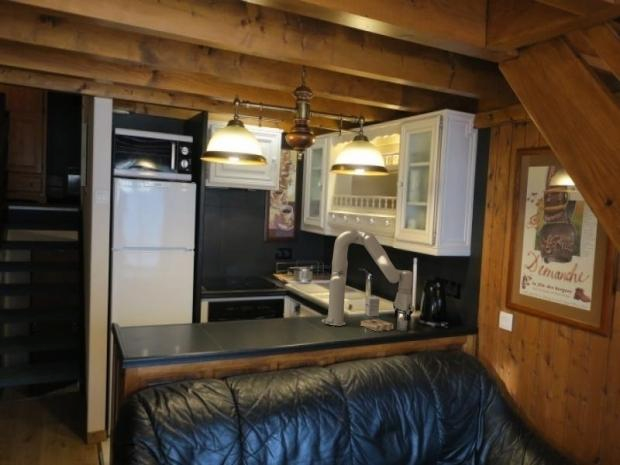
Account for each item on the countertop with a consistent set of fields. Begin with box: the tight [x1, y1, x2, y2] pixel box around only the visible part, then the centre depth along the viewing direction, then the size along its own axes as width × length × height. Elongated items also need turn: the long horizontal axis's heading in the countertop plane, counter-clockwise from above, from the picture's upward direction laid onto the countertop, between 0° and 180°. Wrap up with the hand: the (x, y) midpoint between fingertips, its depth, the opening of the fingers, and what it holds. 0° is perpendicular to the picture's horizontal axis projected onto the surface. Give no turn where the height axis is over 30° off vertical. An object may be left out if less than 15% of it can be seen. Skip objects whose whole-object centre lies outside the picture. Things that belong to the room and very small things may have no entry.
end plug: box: [396, 309, 408, 332], centre depth 300 cm, size 7×7×12 cm
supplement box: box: [364, 296, 380, 317], centre depth 333 cm, size 7×7×13 cm
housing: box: [360, 318, 394, 332], centre depth 300 cm, size 14×14×4 cm
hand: (402, 318), depth 299 cm, fingers open, 9 cm apart
